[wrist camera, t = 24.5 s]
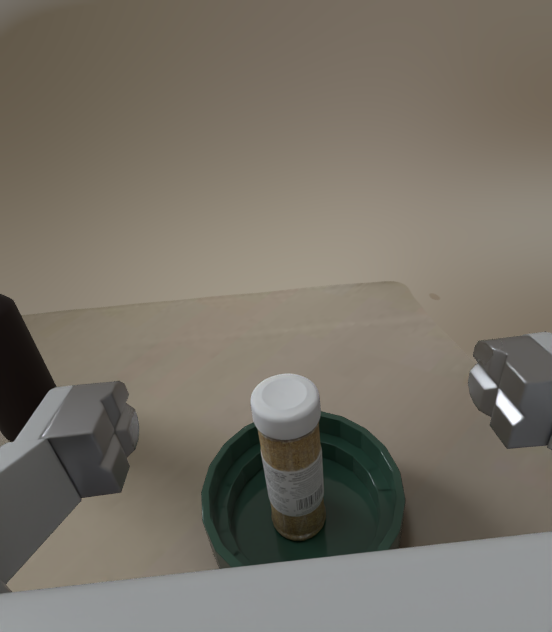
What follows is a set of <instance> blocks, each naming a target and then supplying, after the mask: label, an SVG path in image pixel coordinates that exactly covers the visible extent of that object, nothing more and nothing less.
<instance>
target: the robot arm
mask: <svg viewBox="0 0 552 632" xmlns="http://www.w3.org/2000/svg"><path fill="white" fill-rule="evenodd" d="M473 357H474V358H475V359H476V361H477V362H478V363H477V364H476V365H475V366H474V367H473V368H472V369H471V370H470V373H469V379H468V386H469V392H470V396H471V398H472V400H473V402H474V404H475V405H476V407H477V408H478V410H479V411H481V412H483V413H484V414H486V415H488V416H490V417H491V422H490V426H491V428H492V429H493V430H494V432H495V433H496V435H497V436H498V437H499V439H500V440H501V441H502V443H503V444H504V445H505V447H506V448H507V449H511V448H522V447H534V446H546V445H548V446H547V448H549V449H550V450H552V333H549V332H540V333H532V334H525V335H522V336H516V337H507V338H498V339H490V340H481V341H478V342H477V344H476V345H475V348H474V352H473ZM128 396H129V393H128V391H127V388H126V386H125V384H124V383H122V382H120V381H114V382H103V383H92V384H82V385H76V386H75V385H72V386H63V387H55V388H53V389H51V390H49V392H48V393H47V394H46V396H45V397H44V399H43V400H42V402H41V403H40V405H39V406H38V407H37V409H36V410H35V412H34V413H33V415H32V416H31V418H30V419H29V420H28V422H27V423H26V425H25V426H24V428H23V429H22V431H21V432H20V433H19V435H18V436H17V438H16V439H15V441H14V442H11V443H5V444H4V445H2V446H1V447H0V632H552V531H551V532H542V533H533V534H525V535H516V536H507V537H498V538H489V539H480V540H472V541H463V542H454V543H445V544H436V545H427V546H419V547H410V548H401V549H392V550H383V551H375V552H366V553H357V554H348V555H339V556H331V557H322V558H313V559H304V560H295V561H286V562H277V563H269V564H260V565H251V566H242V567H233V568H224V569H215V570H206V571H197V572H188V573H179V574H170V575H161V576H152V577H143V578H134V579H126V580H117V581H108V582H99V583H90V584H81V585H72V586H64V587H55V588H46V589H37V590H28V591H19V592H12V591H11V590H10V589H9V588H8V587H7V586H6V584H7V582H8V581H9V580H10V579H11V578H12V577H13V576H14V575H15V574H16V572H17V571H18V570H19V569H20V568H21V567H22V566H23V565H24V564H25V562H26V561H27V560H28V559H29V558H30V557H31V556H32V555H33V554H34V553H35V551H36V550H37V549H38V548H39V547H40V546H41V545H42V544H43V543H44V541H45V540H46V539H47V538H48V537H49V536H50V535H51V534H52V533H53V531H54V530H55V529H56V528H57V527H58V526H59V525H60V524H61V523H62V521H63V520H64V519H65V518H66V517H67V516H68V515H69V514H70V513H71V512H72V510H73V509H74V508H75V507H76V506H77V505H78V504H79V503H80V502H81V500H82V499H81V498H85V497H92V496H99V495H106V494H113V493H120V492H121V491H122V488H123V485H124V482H125V479H126V476H127V473H128V470H129V467H130V465H129V463H128V461H127V457H128V456H129V455H130V454H131V453H132V452H133V451H134V450H135V449H136V445H137V442H138V437H139V422H138V417H137V414H136V411H135V409H134V408H133V407H131V406H130V405H128V404H127V403H126V401H127V399H128Z"/></svg>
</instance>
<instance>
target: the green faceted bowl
mask: <svg viewBox="0 0 552 632" xmlns="http://www.w3.org/2000/svg"><path fill="white" fill-rule="evenodd" d="M319 432H320V444H321V448H322V464H323V482H324V496H323V499H324V505H325V510H326V518H325V522H324V525H323V527H322V529H321V530H320V531H319V532H318V533H317V534H316V535H314V536H313V537H312V538H310V539H307V540H304V541H294V540H290V539H287V538H285V537H283V536H282V535H281V534H280V533H279V532H278V531H277V530H276V528H275V527H274V524H273V522H272V517H271V515H272V509H271V503H270V499H269V496H268V490H267V484H266V478H265V473H264V467H263V462H262V456H261V445H260V440H259V434H258V429H257V427H256V426H255V424H254V422H253V423H251V424H249V425H247V426H245V427H244V428H242V429H241V430H240V431H239V432H238V433H236V434H235V435H234V436H233V437H232V438H230V439H229V440H228V441H227V442H226V443H225V444H224V445H223V446H222V448H221V449H220V451H219V452H218V454H217V455H216V457H215V458H214V460H213V461H212V462H211V464H210V466H209V469H208V472H207V475H206V478H205V482H204V485H203V488H202V492H201V497H202V521H203V524H204V527H205V530H206V533H207V536H208V539H209V542H210V546H211V549H212V552H213V555H214V557H215V559H216V562H217V564H218V567H219V569H224V568H233V567H242V566H251V565H260V564H269V563H277V562H286V561H295V560H304V559H313V558H322V557H331V556H339V555H348V554H357V553H366V552H375V551H383V550H392V549H399V546H400V540H401V534H402V525H403V517H404V509H405V495H404V490H403V485H402V480H401V474H400V471H399V469H398V467H397V466H396V464H395V462H394V460H393V459H392V457H391V455H390V453H389V452H388V450H387V448H386V447H385V446H384V445H383V444H382V443H381V442H380V441H379V440H378V439H377V438H376V437H375V436H373V435H372V434H371V433H370V432H369V431H368V430H367V429H365V428H364V427H362V426H360V425H358V424H356V423H354V422H352V421H350V420H348V419H346V418H345V417H342V416H338V415H334V414H330V413H326V412H322V411H321V415H320V419H319Z"/></svg>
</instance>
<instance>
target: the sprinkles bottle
mask: <svg viewBox="0 0 552 632" xmlns="http://www.w3.org/2000/svg"><path fill="white" fill-rule="evenodd" d="M251 410H252V416H253V421H254V424H255V426H256V427H257V429H258V434H259V440H260V445H261V456H262V462H263V467H264V473H265V478H266V484H267V490H268V496H269V499H270V503H271V509H272V515H271V517H272V522H273V524H274V527H275V528H276V530H277V531H278V532H279V533H280V534H281V535H282V536H283V537H285V538H287V539H290V540H294V541H304V540H307V539H310V538H312V537H313V536H314V535H316V534H317V533H318V532H319V531H320V530H321V529H322V527H323V525H324V522H325V518H326V510H325V505H324V499H323V496H324V482H323V464H322V448H321V444H320V432H319V419H320V415H321V408H320V397H319V391H318V389H317V387H316V386H315V384H314V383H313V382H312V381H310V380H309V379H307V378H305V377H303V376H300V375H296V374H280V375H275V376H272V377H269V378H267V379H265V380H263V381H262V382H261V383H259V384H258V385H257V386H256V388H255V389H254V391H253V393H252V395H251Z"/></svg>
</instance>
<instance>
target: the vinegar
mask: <svg viewBox="0 0 552 632" xmlns="http://www.w3.org/2000/svg"><path fill="white" fill-rule="evenodd" d="M55 387H56V385H55V383H54V381H53V379H52V377H51V375H50V373H49V371H48V369H47V367H46V365H45V363H44V361H43V359H42V357H41V355H40V353H39V351H38V349H37V347H36V345H35V343H34V341H33V339H32V336H31V334H30V332H29V330H28V328H27V326H26V324H25V322H24V320H23V318H22V316H21V314H20V313H19V310H18V308H17V306H16V305H15V303H14V301H13V300H12V299H10V298H9V297H6V296H4V295H2V294H0V431H1V433H2V434H3V435H4V436H5V437H6V439H8V440H10V441H15V439H16V438H17V436H18V435H19V433H20V432H21V431H22V429H23V428H24V426H25V425H26V423H27V422H28V420H29V419H30V418H31V416H32V415H33V413H34V412H35V410H36V409H37V407H38V406H39V405H40V403H41V402H42V400H43V399H44V397H45V396H46V394H47V393H48V392H49V390H51V389H53V388H55Z"/></svg>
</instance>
